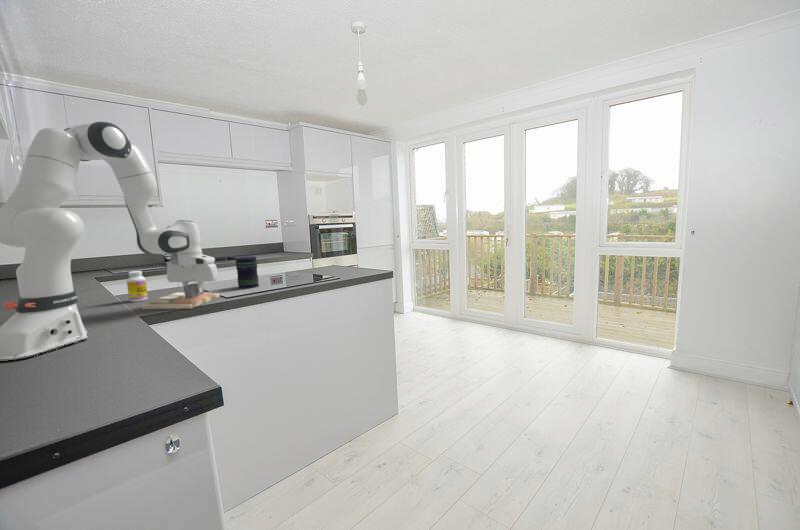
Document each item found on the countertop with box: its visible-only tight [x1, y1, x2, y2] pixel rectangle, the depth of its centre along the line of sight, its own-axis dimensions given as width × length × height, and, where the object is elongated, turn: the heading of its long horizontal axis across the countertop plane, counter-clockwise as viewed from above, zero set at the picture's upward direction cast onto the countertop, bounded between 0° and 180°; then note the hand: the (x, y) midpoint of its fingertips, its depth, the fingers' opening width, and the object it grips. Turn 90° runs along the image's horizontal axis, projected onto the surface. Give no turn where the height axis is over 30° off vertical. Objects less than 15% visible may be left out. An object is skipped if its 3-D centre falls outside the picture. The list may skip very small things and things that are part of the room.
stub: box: [177, 282, 213, 303], centre depth 147 cm, size 14×6×6 cm, turn 177°
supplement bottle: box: [126, 270, 148, 303], centre depth 154 cm, size 7×7×13 cm
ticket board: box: [141, 291, 220, 310], centre depth 148 cm, size 20×20×3 cm
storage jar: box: [235, 256, 260, 290], centre depth 177 cm, size 10×10×15 cm
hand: (194, 292), depth 147 cm, fingers closed on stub, 3 cm apart
